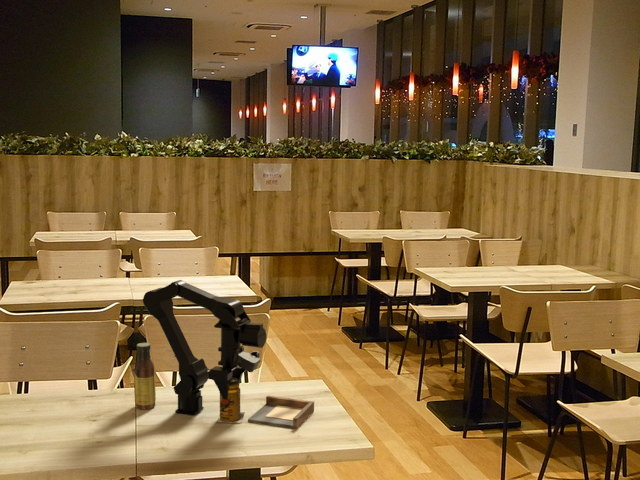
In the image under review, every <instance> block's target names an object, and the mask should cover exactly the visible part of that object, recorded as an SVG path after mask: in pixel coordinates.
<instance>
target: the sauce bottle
mask: <svg viewBox="0 0 640 480" xmlns="http://www.w3.org/2000/svg"><path fill="white" fill-rule="evenodd" d="M136 350H137V359H136V362H135V366H134V369H133V388H134V389H133V390H134V392H133V393H134V405H135V408H136V409H139V410H151V409H154V408H155V407H156V399H157V398H156V397H157V396H156V395H157V394H156V372H155V364H154V362H153V360H152V359H151V343H150V342H141V343H137V344H136Z"/></svg>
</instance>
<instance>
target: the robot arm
mask: <svg viewBox="0 0 640 480" xmlns="http://www.w3.org/2000/svg"><path fill="white" fill-rule="evenodd" d="M176 297H179V298H181V299H183V300H185V301H188V302H190V303H192V304H195V305H197V306H199V307H202V308H203V309H206V310H207V311H209V312H211V315H213V316H214V317H215V318H216V319H218V322H216V323H215V324H214V325H213V327H214V328H216V329H220V346H219V347H218V348H217V349H218V350H217V351H218V352H220V360H218V361H217V362H218V363H217V365H218V366H217V365H215V366H214V367H212V368H210V369H209V368H208V367H207V365H206V362H205V359H204V358H203V357H202V358H200V359H198V358H197V357H196V356H195V355H194V354H193V351H192V350H191V347H190V346H189V343H188V341H187V339H186V337H185V335H184V332H183V331H182V329H181V327H180V325H179V322H178V320H177V318H176V316H175V314H174V302H173V299H174V298H176ZM142 303H143V305H144V308H146V310H147V312H148V313H149V314H150V315H151V316H152V317H154V318H155V319H156V320H157V322H158V323H159V325H160V327H161V330H162V331H163V333H164V336H165V338H166V339H167V341H168V344H169V346H170V348H171V350H172V353H173V355H174V356H175V358H176V361H177V363H178V376H179V379H180V381H179V382H177V384H175V385H174V386H173V391H174V394H175V395H177V409H176V410H175V411H174V412H175V413H177V414H183V415H191V416H195V415H197V414H199V412H201V411H202V410H203V409H205V408H204V406H203V395H202V390H201V389H203V388H204V386H205V384H206V383H207V382H208V380H211V381H213V382H214V383H215V384H214V385H215V386H216V387H217V389H218V391H219V394H220V393H221V395H222V397H223V399H227V396H228V389H229V382H230V381H231V380H232V379H233V377H234V378H237V379H239V385H240V383H241V380H242V377H243V374H244V373H245V372H248V373H253V372H254V371H256V370H257V368H258V366H259V364H260V363H261V362H262V361H261V357H260V355H261V354H260V352H259V351H257V350H253V351H252V352H251V353H250V352H247V351H245V346H246V347H250V348H251V347H253V348H258V349H262V348H263V347H265V344H266V342H267V332H266V329H265V328H264V324H263V323H255V322H254V323H253V322H252V319H251V318H250V317H249V315H248V314H247V312H246V310H245V308H244V305H243V302H241V301H240V300H239V299H236V298H232V297H225V296H224V297H223V296H218V295H215V294H213V293H210V292H208V291H206V290H203V289H201V288H199V287H197V286H195V285H192V284H190V283H187V281H185V280H182V279H179V280H175V281H173V282H171V283H170V284H168V285H166V286H164V287H159V288H155V289H152V290H149V291H146V292H145V293H144V294H143V297H142Z"/></svg>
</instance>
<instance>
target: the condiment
mask: <svg viewBox="0 0 640 480" xmlns="http://www.w3.org/2000/svg"><path fill="white" fill-rule="evenodd" d="M245 414H246V411H242V412H241V388H240V384H239V379H237V378H234V377H233V379H232V380H231V381H230V382H229V389H228V396H227V399H223V397H222V395H221V393H220V392H219V415H218V418H217V420H216V423H227V424H228V423H232V424H233V423H235V424H236V423H238V424H239V423H240V424H241V423H242V421H243V419H244V416H245Z"/></svg>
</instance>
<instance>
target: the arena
mask: <svg viewBox="0 0 640 480" xmlns="http://www.w3.org/2000/svg"><path fill="white" fill-rule="evenodd" d="M314 412H315V401H311V400H304V399H296V398H289V397H283V396H281V397H280V396H274V395H266V398H265V404H264V405H262V407H260V408H259V409H257V411H255V413H253V414H252V415H251V416H250V417H248V419H247V422H248V423H254V424H259V425H261V424H262V425H268V426H273V427H275V426H276V427H282V428H289V429H294V430H295V429H296V430H298V429H299V428H300V426H302V424H303V423H304V422H305V421H306V420H308V418H309V417H310V416H311V415H312V414H313V413H314Z"/></svg>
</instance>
